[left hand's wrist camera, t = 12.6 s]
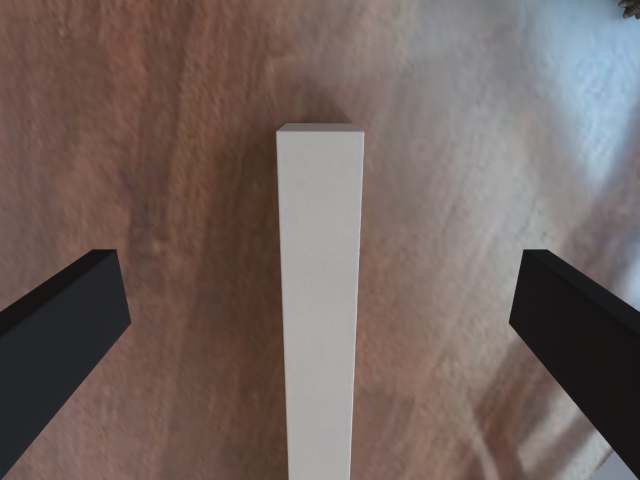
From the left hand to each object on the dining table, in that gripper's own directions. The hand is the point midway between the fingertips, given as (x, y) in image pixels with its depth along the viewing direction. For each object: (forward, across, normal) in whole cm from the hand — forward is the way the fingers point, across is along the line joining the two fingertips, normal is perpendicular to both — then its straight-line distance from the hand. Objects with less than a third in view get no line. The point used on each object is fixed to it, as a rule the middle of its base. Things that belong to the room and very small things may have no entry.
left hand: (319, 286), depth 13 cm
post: (+21, 0, -30) cm, 37 cm away
